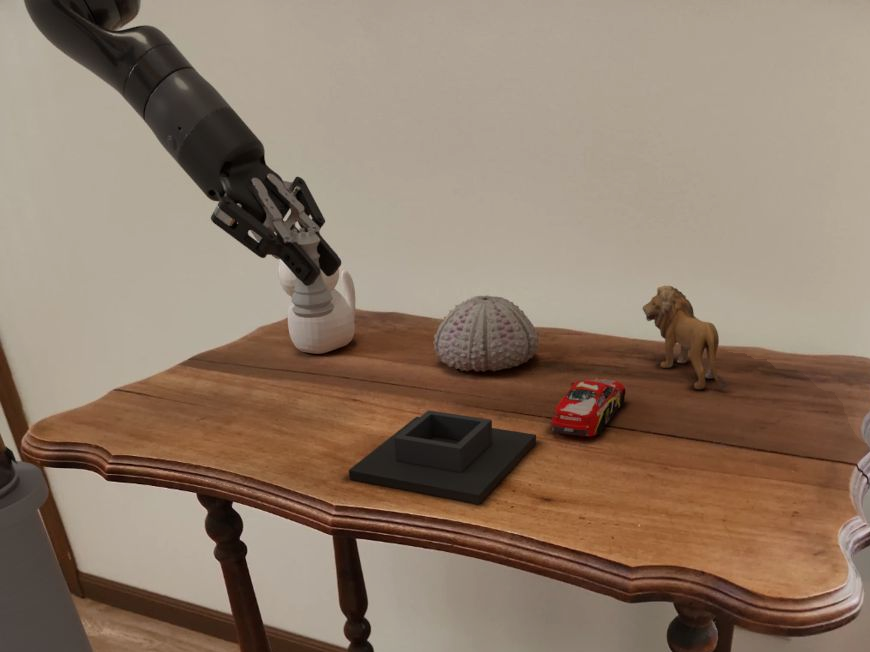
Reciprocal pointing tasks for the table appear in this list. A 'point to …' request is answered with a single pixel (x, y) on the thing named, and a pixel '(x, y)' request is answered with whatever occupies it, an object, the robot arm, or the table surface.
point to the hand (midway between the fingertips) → (324, 274)
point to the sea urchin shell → (485, 335)
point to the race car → (588, 407)
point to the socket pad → (445, 457)
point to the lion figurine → (684, 332)
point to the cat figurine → (325, 329)
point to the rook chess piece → (316, 295)
